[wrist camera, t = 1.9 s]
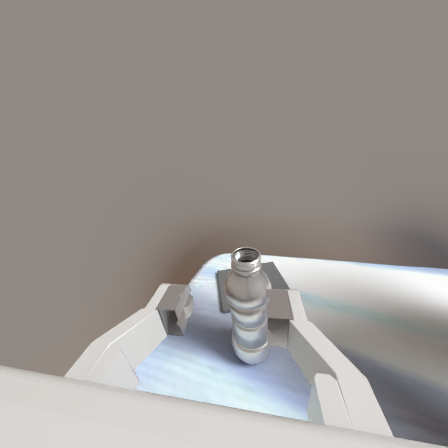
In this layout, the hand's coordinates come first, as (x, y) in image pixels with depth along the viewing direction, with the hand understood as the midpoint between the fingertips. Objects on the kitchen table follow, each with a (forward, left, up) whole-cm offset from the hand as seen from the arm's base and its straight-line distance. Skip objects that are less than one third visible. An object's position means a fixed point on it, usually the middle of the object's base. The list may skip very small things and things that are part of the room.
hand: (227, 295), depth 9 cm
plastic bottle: (-4, -12, -26) cm, 29 cm away
